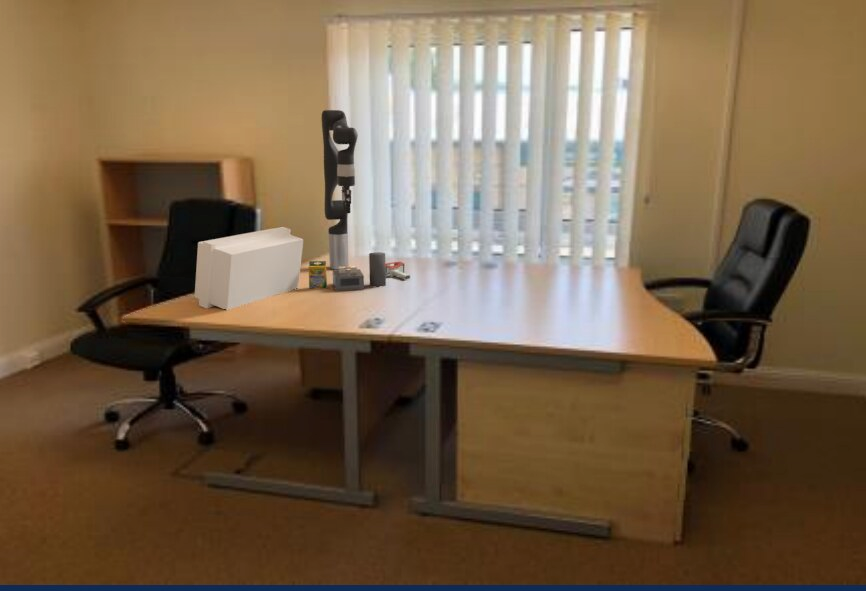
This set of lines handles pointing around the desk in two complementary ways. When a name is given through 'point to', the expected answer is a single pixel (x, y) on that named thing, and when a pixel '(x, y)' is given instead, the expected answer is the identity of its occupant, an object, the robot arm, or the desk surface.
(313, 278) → the crayon box
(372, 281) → the grey round-ended cylinder
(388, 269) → the tape dispenser
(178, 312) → the desk surface
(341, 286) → the panel
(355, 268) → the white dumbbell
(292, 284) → the light box
